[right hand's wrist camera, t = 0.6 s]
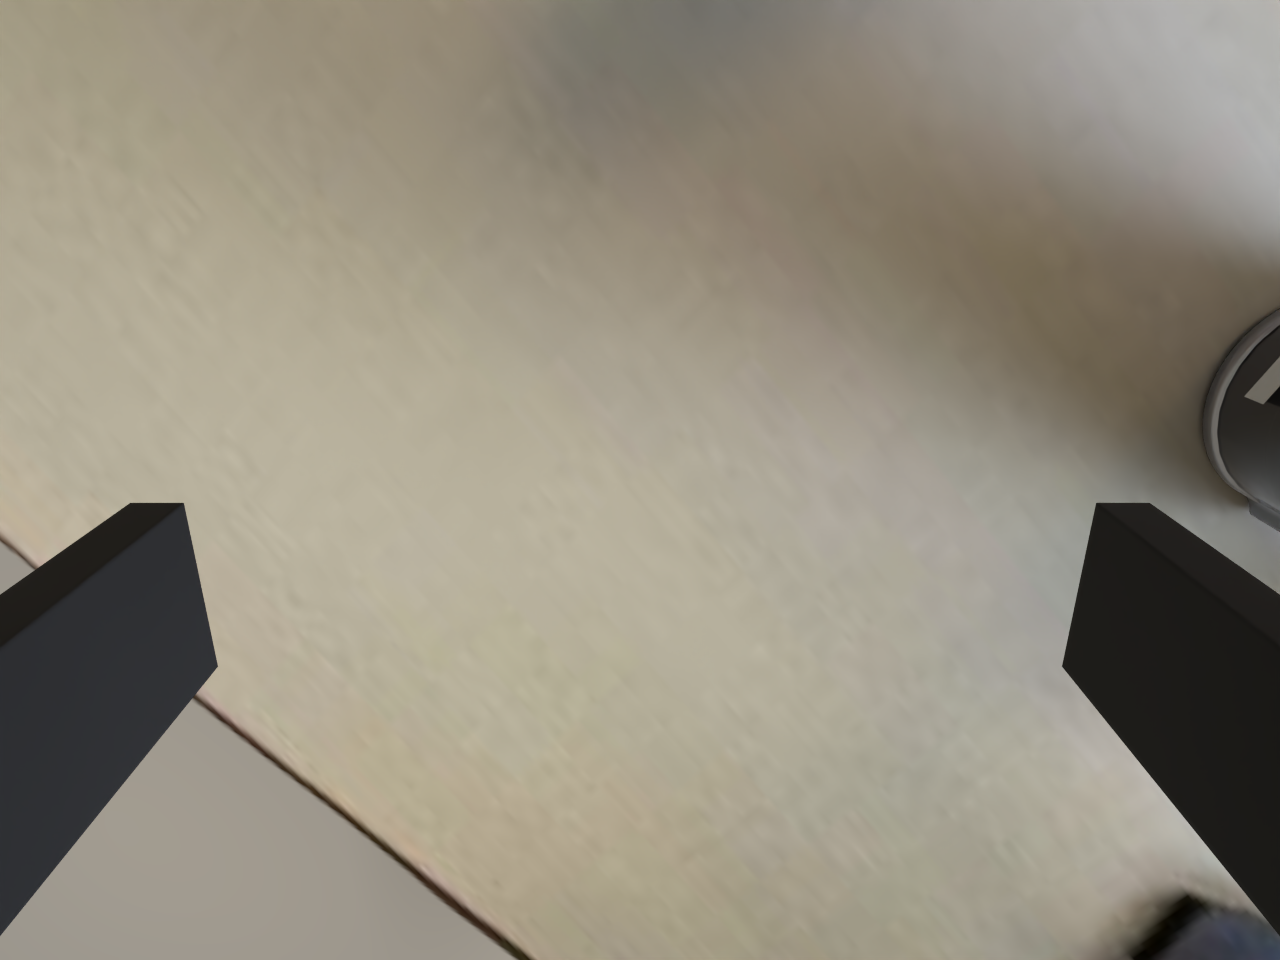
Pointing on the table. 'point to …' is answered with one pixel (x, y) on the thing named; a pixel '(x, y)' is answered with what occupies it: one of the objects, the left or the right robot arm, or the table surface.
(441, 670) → the table surface
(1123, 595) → the right robot arm
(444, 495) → the table surface
